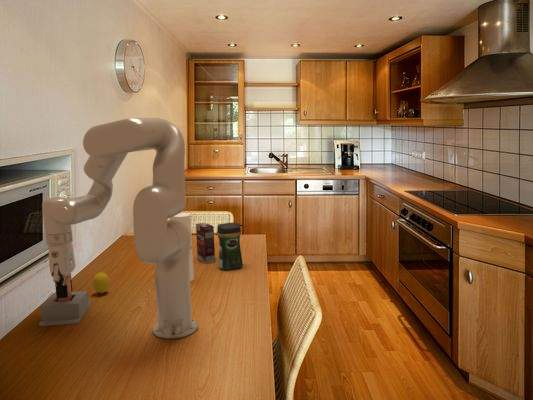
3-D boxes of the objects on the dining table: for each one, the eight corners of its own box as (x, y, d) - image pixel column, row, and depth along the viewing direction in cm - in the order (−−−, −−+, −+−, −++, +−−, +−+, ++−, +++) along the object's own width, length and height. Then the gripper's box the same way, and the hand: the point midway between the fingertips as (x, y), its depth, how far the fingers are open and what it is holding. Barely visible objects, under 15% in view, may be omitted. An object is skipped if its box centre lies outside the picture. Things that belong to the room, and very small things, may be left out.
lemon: (104, 289, 167) (102, 268, 166) (113, 293, 164) (111, 271, 163) (90, 294, 163) (88, 272, 162) (99, 297, 160) (97, 275, 158)
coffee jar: (239, 263, 195) (237, 220, 192) (244, 268, 188) (243, 223, 185) (216, 266, 192) (214, 222, 189) (221, 271, 185) (219, 226, 182)
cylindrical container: (189, 283, 172) (186, 217, 168) (171, 282, 174) (167, 216, 170) (196, 277, 179) (193, 213, 175) (179, 276, 181) (175, 213, 177)
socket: (77, 323, 139) (75, 306, 138) (38, 326, 138) (37, 309, 137) (91, 303, 154) (89, 288, 154) (56, 305, 153) (55, 290, 152)
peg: (70, 309, 144) (67, 272, 142) (57, 310, 143) (53, 273, 141) (74, 304, 148) (70, 268, 146) (61, 305, 147) (57, 269, 145)
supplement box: (196, 259, 203) (195, 223, 201) (206, 257, 206) (205, 222, 203) (205, 263, 196) (203, 227, 193) (215, 261, 198) (214, 225, 196)
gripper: (63, 244, 134) (69, 304, 137) (79, 231, 151) (84, 285, 154) (36, 245, 133) (42, 306, 136) (55, 232, 150) (60, 286, 153)
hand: (64, 294), depth 145 cm, fingers closed on peg, 4 cm apart
